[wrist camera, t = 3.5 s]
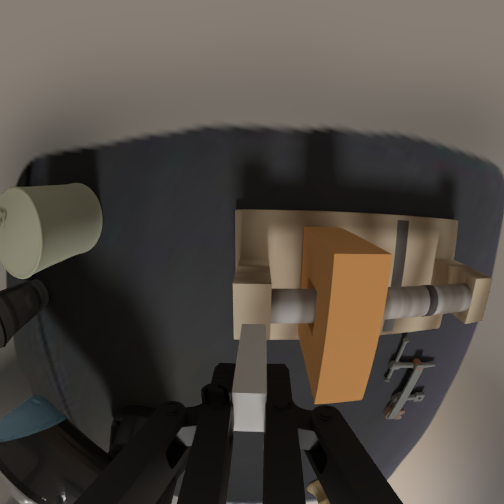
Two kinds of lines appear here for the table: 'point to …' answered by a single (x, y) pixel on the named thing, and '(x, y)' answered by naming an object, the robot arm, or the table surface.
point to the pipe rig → (374, 231)
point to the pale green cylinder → (46, 226)
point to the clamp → (400, 397)
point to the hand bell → (318, 492)
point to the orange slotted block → (342, 311)
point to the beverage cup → (20, 307)
